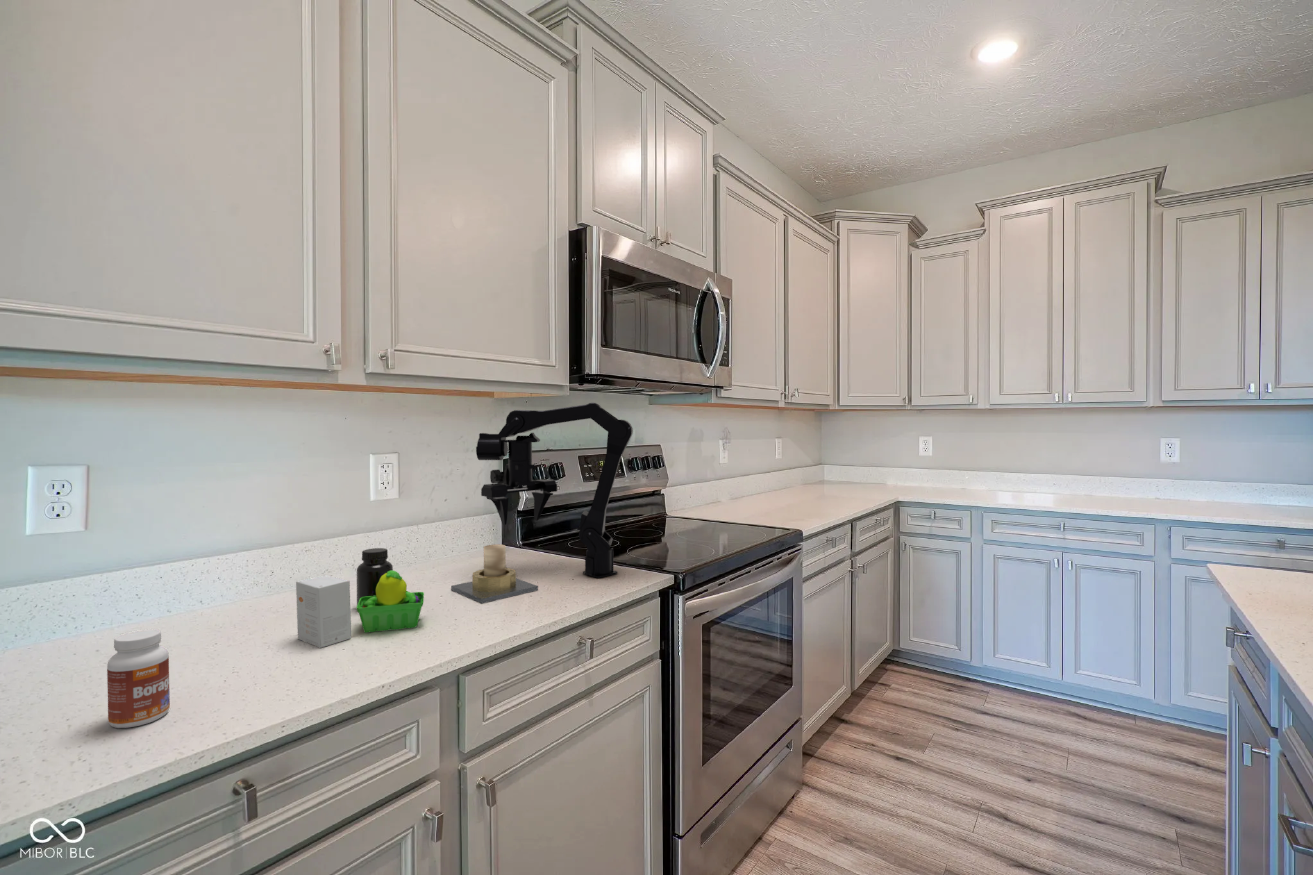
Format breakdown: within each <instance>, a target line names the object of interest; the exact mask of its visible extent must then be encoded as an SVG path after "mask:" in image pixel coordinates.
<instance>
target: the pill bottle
mask: <svg viewBox="0 0 1313 875" xmlns="http://www.w3.org/2000/svg"><path fill="white" fill-rule="evenodd" d="M161 642H162V632H161V630H160V629H157V628H144V629H138V630H133V631H127V632H125V633H122V634H119V635H117V636H116V637H114V639H113V649H114V651H116V653H114V654H113V655H112V656H111V657H110V658H109V659H108V661H107V664H106V672H107V673H106V677H107V678H106V679H107V684H106V685H107V716H108V717H107V719H108V721H107V722H108V724H109V726H110V727H112V728H116V729H125V728H126V729H128V728H133V727H139V726H143V725H147V724H149V723H152V722H156V720H159V719H160V718H162V717H164V716H165V715H166V714H167V713H168V712H169V711H170V709H171V708H170V707H171V705H170V704H171V703H170V702H171V701H170V700H171V698H170V693H171V692H170V660H169V659H170V656H169V650H168V648H166V647H165V646H163V645H160V643H161Z"/></svg>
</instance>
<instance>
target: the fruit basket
mask: <svg viewBox="0 0 1313 875" xmlns="http://www.w3.org/2000/svg"><path fill="white" fill-rule="evenodd" d="M407 584H408V583H407V581H405V579H404V578H403V576H401V575H400V572H398V571H397V570H394V569H393V570H392V571H388V572H387V573H386V574H384V575H382V577H381V578H380V580H379V582H378V584H377V586H376V596H366V597H362V598H360V600H359V603H358V605H357V604H356V607H355V608H356V611H357V613H358V615H359V618H360V623H361V625H362V629H363V632H364V633H374V632H382V631H383V632H385V631H392V630H403V629H413V628H415V629H416V628H417V627H418V622H419V618H420V616H421V610H422V607H423V606H424V600H425V598H424V596H425V592H424V591H415V592H414V591H413V592H410V591H408V590H407V589H408V588H407V587H408V585H407Z"/></svg>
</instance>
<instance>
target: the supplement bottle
mask: <svg viewBox="0 0 1313 875" xmlns="http://www.w3.org/2000/svg"><path fill="white" fill-rule="evenodd" d="M387 559H389V555H388V549H387V548H384V547H377V548H376V547H374V548H366V549H363V550H362V551H361V561H362V563H360V564H359V565H358V566H357V568H356V606H357V605H358V603H359V600H360V598H362V597H366V596H376V586H377V584H378V582H379V580H380V578H381V577H382V575H384V574H386V573H387V572H388V571H392V570H393V571H394V568H393V564H392V562H390V561H388V560H387Z"/></svg>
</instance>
